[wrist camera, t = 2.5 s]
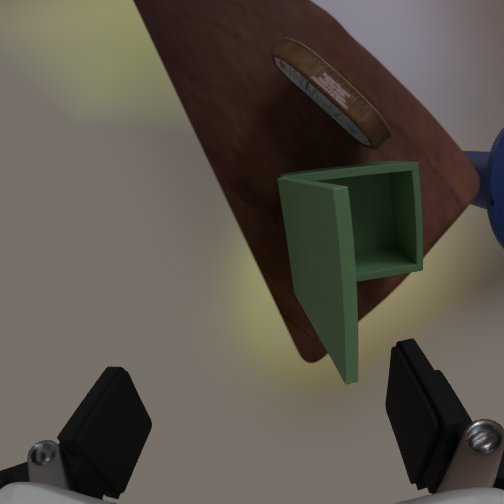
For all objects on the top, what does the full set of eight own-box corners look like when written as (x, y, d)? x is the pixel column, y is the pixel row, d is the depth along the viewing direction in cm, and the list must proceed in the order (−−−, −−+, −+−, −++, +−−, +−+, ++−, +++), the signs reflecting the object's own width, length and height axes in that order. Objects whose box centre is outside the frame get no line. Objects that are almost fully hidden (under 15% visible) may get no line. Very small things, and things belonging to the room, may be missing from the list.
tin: (378, 137, 33) (405, 132, 25) (361, 155, 34) (385, 154, 26) (285, 51, 31) (287, 23, 23) (267, 68, 32) (264, 43, 24)
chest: (390, 160, 34) (417, 162, 26) (398, 249, 37) (423, 270, 29) (280, 173, 35) (281, 177, 28) (294, 265, 38) (297, 291, 31)
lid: (348, 186, 13) (332, 188, 13) (358, 381, 16) (345, 385, 16) (285, 176, 27) (276, 178, 27) (302, 291, 30) (294, 293, 30)
